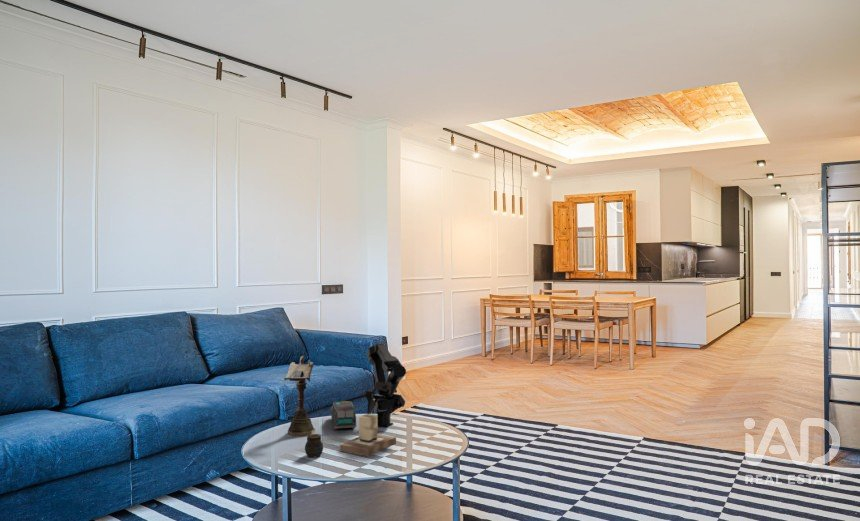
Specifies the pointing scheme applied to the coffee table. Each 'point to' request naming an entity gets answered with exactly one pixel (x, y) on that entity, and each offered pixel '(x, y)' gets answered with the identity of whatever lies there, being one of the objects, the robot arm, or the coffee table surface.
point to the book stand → (300, 398)
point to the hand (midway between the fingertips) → (376, 415)
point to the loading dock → (367, 445)
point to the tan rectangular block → (368, 427)
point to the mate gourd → (313, 445)
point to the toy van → (343, 415)
